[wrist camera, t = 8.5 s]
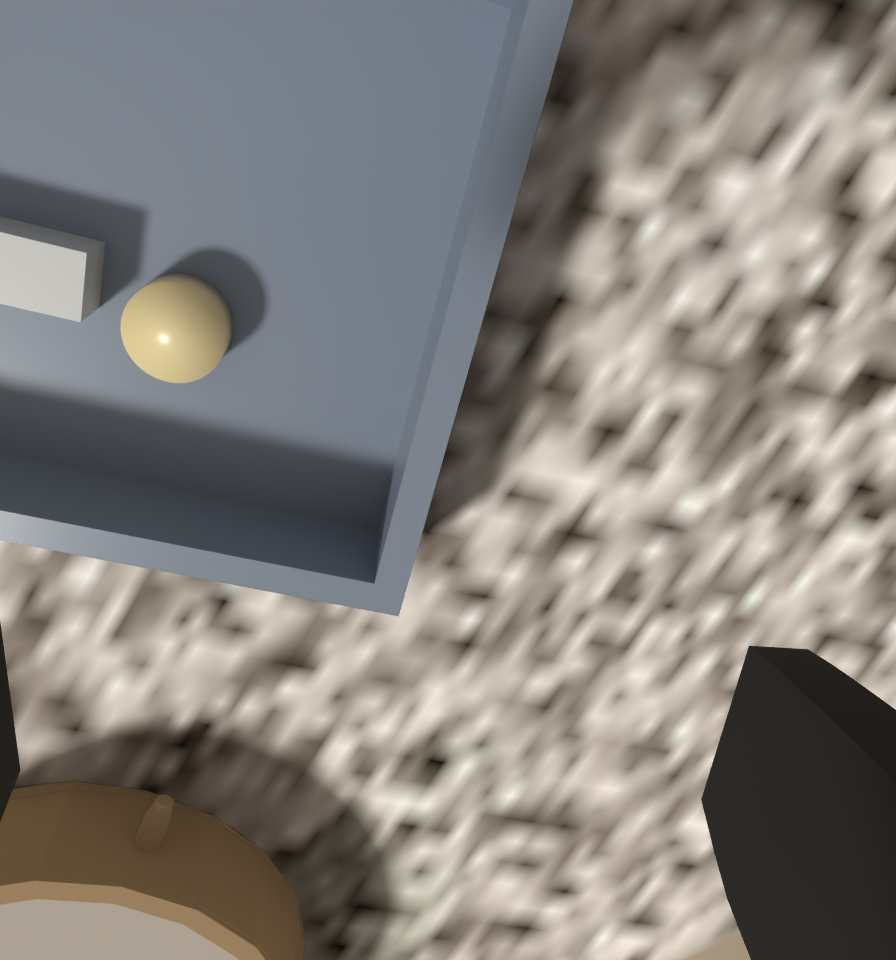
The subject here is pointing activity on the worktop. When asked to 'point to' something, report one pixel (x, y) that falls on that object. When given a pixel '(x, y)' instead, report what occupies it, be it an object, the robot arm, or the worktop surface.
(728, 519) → the worktop surface
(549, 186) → the worktop surface
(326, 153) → the blue-grey tray
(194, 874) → the alarm clock
